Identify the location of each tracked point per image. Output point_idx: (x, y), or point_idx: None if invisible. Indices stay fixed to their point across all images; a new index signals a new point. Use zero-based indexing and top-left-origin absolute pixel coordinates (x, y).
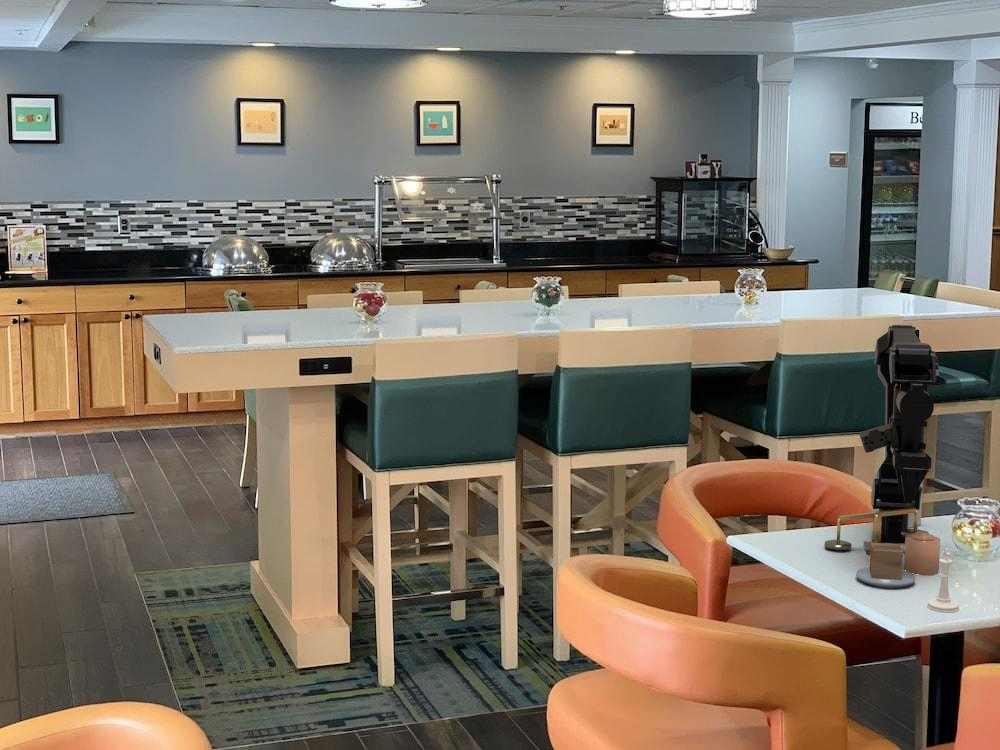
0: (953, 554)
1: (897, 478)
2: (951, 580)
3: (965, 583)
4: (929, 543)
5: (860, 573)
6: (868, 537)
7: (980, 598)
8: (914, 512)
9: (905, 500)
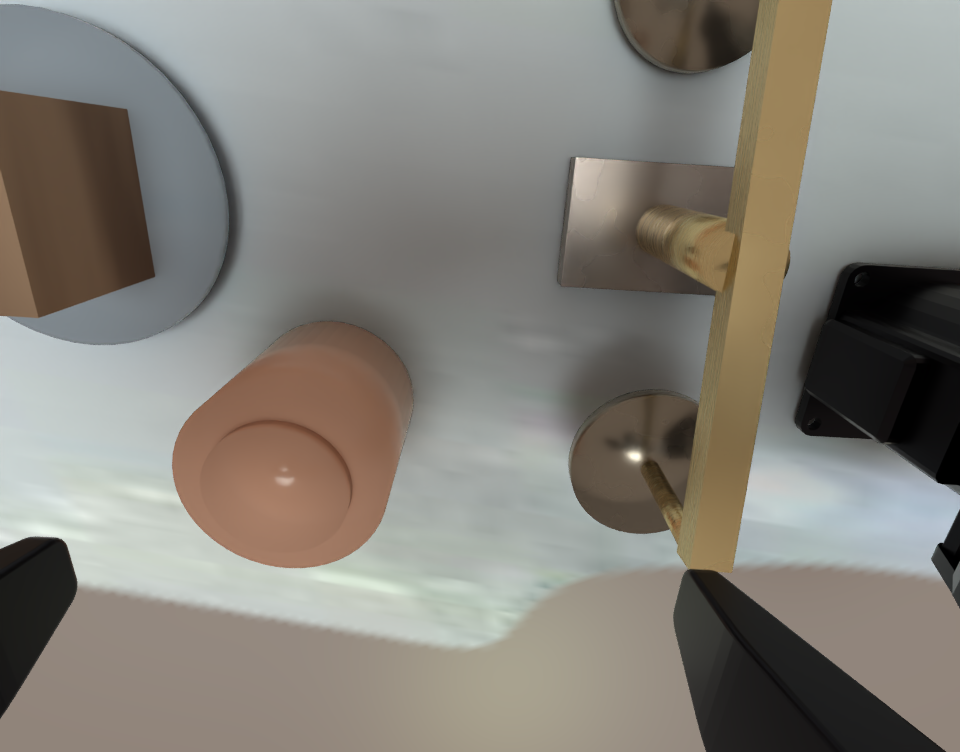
0: (613, 561)
1: (792, 694)
2: None
3: (192, 529)
4: (181, 499)
5: (21, 34)
6: (941, 227)
7: (7, 542)
8: (678, 541)
9: (2, 558)
